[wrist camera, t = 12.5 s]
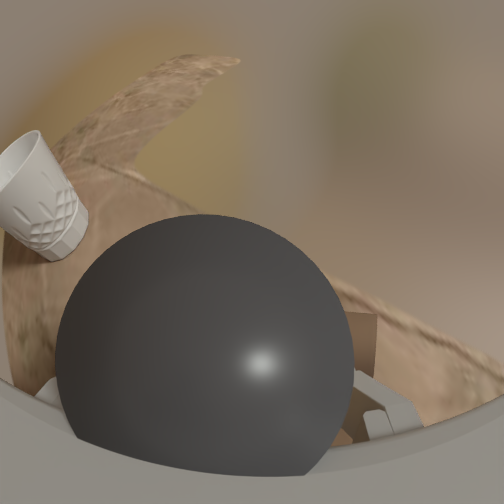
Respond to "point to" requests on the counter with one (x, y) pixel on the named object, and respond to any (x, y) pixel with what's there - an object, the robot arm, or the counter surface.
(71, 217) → the white cup
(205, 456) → the tan grey capped cylinder
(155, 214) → the counter surface
